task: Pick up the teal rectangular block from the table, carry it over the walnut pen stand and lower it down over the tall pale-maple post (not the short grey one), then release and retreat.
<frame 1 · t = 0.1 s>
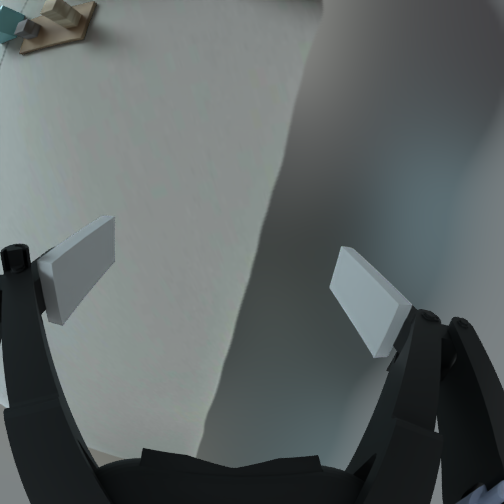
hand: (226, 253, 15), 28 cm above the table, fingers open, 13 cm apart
stand: (56, 28, 27), on the table
teal rectangular block: (12, 29, 23), on the table
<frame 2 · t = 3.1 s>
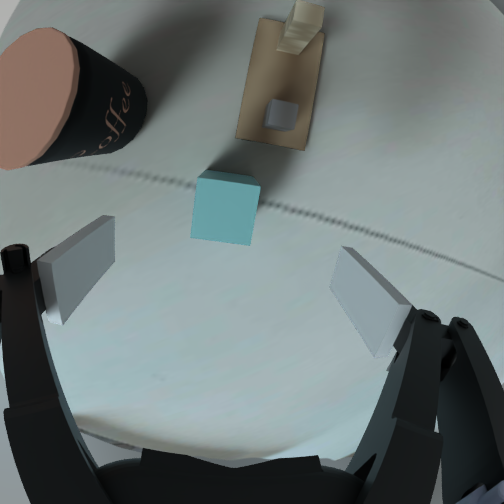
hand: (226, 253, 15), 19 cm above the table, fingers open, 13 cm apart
stand: (280, 81, 28), on the table
coffee jar: (111, 112, 28), on the table
teal rectangular block: (225, 195, 33), on the table
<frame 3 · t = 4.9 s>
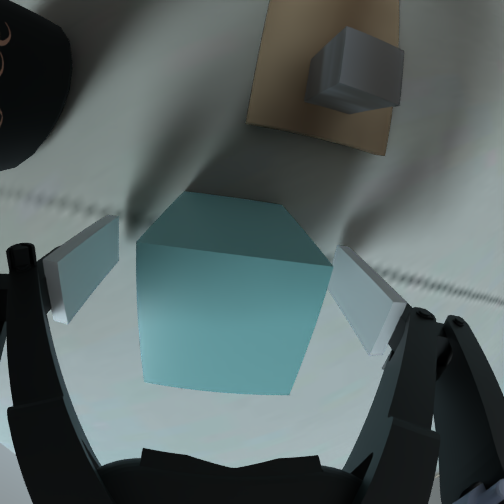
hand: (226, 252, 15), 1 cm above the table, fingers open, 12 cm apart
stand: (333, 22, 12), on the table
coffee jar: (23, 94, 11), on the table
teal rectangular block: (226, 243, 16), on the table
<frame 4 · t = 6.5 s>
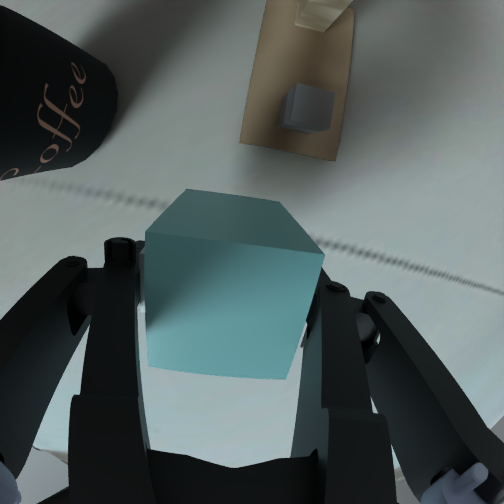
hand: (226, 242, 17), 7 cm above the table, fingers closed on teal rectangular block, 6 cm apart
stand: (300, 66, 20), on the table
coffee jar: (74, 112, 19), on the table
teal rectangular block: (226, 239, 17), point 7 cm above the table, touching gripper
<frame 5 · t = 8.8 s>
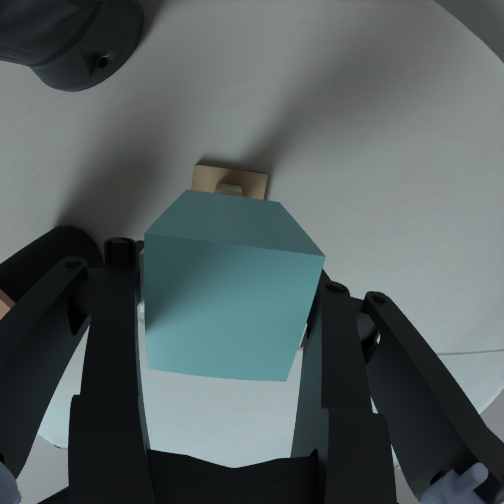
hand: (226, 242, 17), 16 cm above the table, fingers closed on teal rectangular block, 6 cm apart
stand: (221, 235, 33), on the table
coffee jar: (75, 259, 33), on the table
teal rectangular block: (226, 240, 17), point 15 cm above the table, touching gripper
when the fingers open (3 cm above the table, at t = 11.4 s): teal rectangular block stays where it is, resting on stand.
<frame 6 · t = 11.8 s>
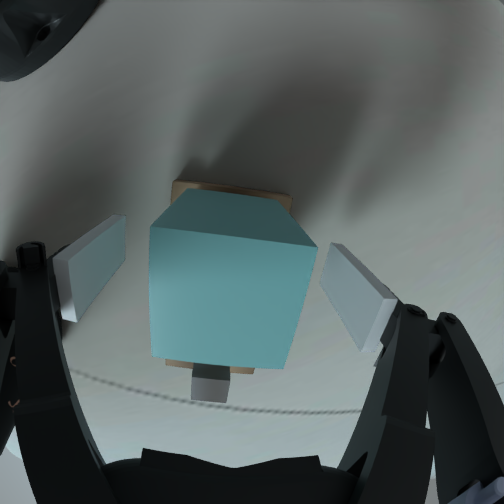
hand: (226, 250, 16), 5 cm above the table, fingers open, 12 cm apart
stand: (218, 288, 22), on the table
coffee jar: (28, 307, 21), on the table
teal rectangular block: (226, 236, 18), point 2 cm above the table, touching stand
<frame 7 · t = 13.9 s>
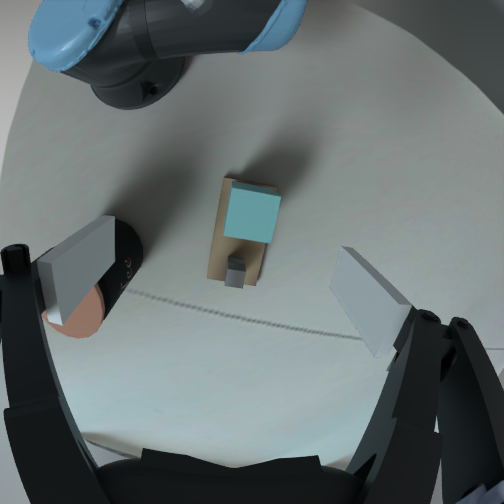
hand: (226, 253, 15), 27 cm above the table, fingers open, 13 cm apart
stand: (240, 232, 43), on the table
coffee jar: (116, 247, 43), on the table
teal rectangular block: (247, 203, 40), point 2 cm above the table, touching stand
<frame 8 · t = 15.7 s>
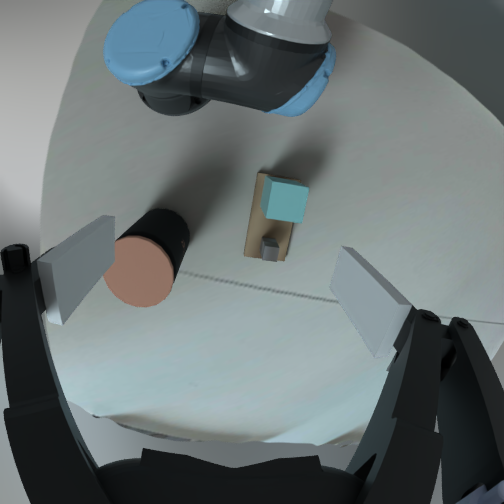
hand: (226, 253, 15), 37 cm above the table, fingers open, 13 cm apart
stand: (271, 217, 53), on the table
coffee jar: (163, 233, 52), on the table
teal rectangular block: (278, 193, 49), point 2 cm above the table, touching stand
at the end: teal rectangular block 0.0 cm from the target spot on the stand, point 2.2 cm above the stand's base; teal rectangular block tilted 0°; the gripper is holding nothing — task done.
